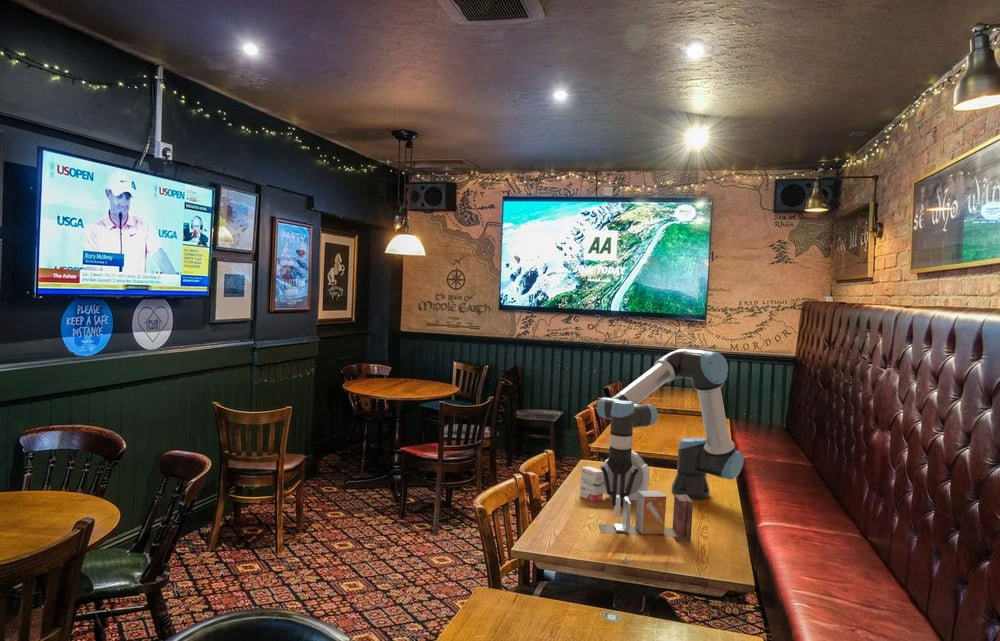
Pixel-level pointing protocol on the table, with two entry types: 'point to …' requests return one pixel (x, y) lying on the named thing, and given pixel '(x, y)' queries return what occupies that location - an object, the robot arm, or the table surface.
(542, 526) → the table surface
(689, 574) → the table surface
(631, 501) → the alarm clock
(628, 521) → the bookend
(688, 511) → the book board
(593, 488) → the ink box
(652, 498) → the small box
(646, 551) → the table surface
